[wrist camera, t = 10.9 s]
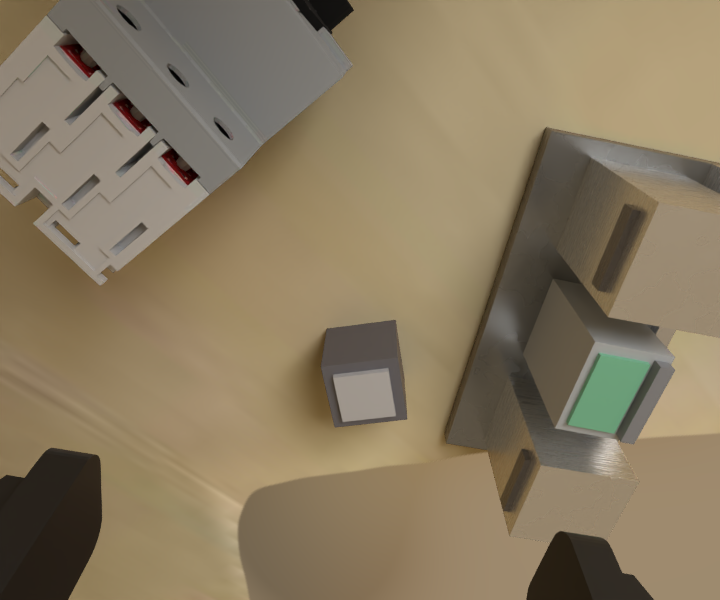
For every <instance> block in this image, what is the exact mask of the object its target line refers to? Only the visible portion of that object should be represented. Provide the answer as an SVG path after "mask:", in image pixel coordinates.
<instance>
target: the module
mask: <svg viewBox="0 0 720 600" xmlns="http://www.w3.org/2000/svg"><path fill="white" fill-rule="evenodd" d="M523 355H524V357H525V360H526V362H527V364H528V367H529V369H530V371H531V374H532V376H533V378H534V381H535V383H536V385H537V388H538V390H539V392H540V395H541V397H542V399H543V402H544V404H545V406H546V409H547V411H548V413H549V416H550V418H551V420H552V423H553V425H554V427H555V428H556V429H561V430H567V431H572V432H578V433H583V434H589V435H594V436H599V437H605V438H610V439H616V440H620V442H623V443H629V444H634V443H635V441H636V440H637V438H638V436H639V434H640V432H641V431H642V429H643V427H644V425H645V423H646V422H647V420H648V418H649V416H650V415H651V413H652V411H653V409H654V407H655V406H656V404H657V402H658V400H659V398H660V397H661V395H662V393H663V391H664V389H665V388H666V386H667V384H668V382H669V380H670V379H671V377H672V375H673V373H674V371H675V369H674V368H673V367H672V366H671V364H672V362H673V360H674V358H675V357H674V356H673V354H672V353H671V352H670V351H669V350H668V349H667V347H666V346H665V345H664V344H663V343H662V342H661V341H660V339H659V338H658V337H657V336H656V335H655V334H654V333H653V331H652V330H651V329H650V328H649V327H648V326H647V324H643V323H637V322H632V321H626V320H621V319H616V318H610V317H607V315H606V314H605V313H604V311H603V310H602V309H601V307H600V306H599V305H598V303H597V302H596V301H595V300H594V298H593V297H592V296H591V294H590V293H589V292H588V290H587V289H586V288H585V286H584V285H583V284H578V283H573V282H568V281H563V280H558V279H553V280H552V283H551V285H550V288H549V290H548V293H547V295H546V298H545V300H544V303H543V305H542V308H541V310H540V313H539V315H538V318H537V320H536V323H535V325H534V328H533V330H532V333H531V335H530V338H529V340H528V343H527V345H526V348H525V350H524V353H523Z"/></svg>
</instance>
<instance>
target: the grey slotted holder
mask: <svg viewBox="0 0 720 600" xmlns="http://www.w3.org/2000/svg"><path fill="white" fill-rule="evenodd" d="M553 279H558V280H563V281H568V282H573V283H578V284H583V285H584V286H585V288H586V289H587V290H588V292H589V293H590V294H591V296H592V297H593V298H594V300H595V301H596V302H597V303H598V305H599V306H600V307H601V309H602V310H603V311H604V313H605V314H606V315H607V317H610V318H616V319H621V320H626V321H632V322H637V323H643V324H647V326H648V327H649V328H650V329H651V330H652V331H653V333H654V334H655V335H656V336H657V337H658V338H659V339H660V341H661V342H662V343H663V344H664V345H665V346H666V347H667V346H668V344H669V342H670V341H671V339H672V337H673V335H674V333H675V331H676V330H680V331H686V332H691V333H696V334H702V335H707V336H713V337H718V338H720V163H717V162H712V161H707V160H702V159H697V158H693V157H688V156H683V155H678V154H673V153H668V152H663V151H659V150H654V149H649V148H644V147H639V146H634V145H629V144H624V143H620V142H615V141H610V140H605V139H600V138H595V137H590V136H586V135H581V134H576V133H571V132H566V131H561V130H556V129H552V128H547V127H546V130H545V133H544V136H543V139H542V142H541V145H540V148H539V151H538V154H537V157H536V160H535V163H534V166H533V169H532V172H531V175H530V178H529V181H528V184H527V187H526V190H525V193H524V196H523V199H522V202H521V205H520V208H519V211H518V214H517V217H516V220H515V223H514V226H513V229H512V232H511V235H510V238H509V241H508V244H507V247H506V250H505V253H504V256H503V259H502V262H501V265H500V268H499V271H498V274H497V277H496V280H495V283H494V286H493V289H492V292H491V295H490V298H489V301H488V304H487V307H486V310H485V313H484V316H483V319H482V322H481V325H480V328H479V331H478V334H477V337H476V340H475V343H474V346H473V349H472V352H471V355H470V358H469V361H468V364H467V367H466V370H465V373H464V376H463V379H462V382H461V385H460V388H459V391H458V394H457V397H456V400H455V403H454V406H453V409H452V412H451V415H450V418H449V421H448V424H447V427H446V430H445V439H446V443H448V444H454V445H460V446H466V447H472V448H478V449H484V450H488V454H489V457H490V462H491V466H492V469H493V474H494V478H495V481H496V485H497V489H498V493H499V497H500V501H501V505H502V509H503V513H504V517H505V521H506V525H507V529H508V533H509V536H512V537H519V538H524V539H531V540H538V541H543V542H550V543H551V541H552V539H553V537H554V535H555V534H556V533H557V532H559V531H564V532H570V533H577V534H583V535H589V536H595V537H601V538H603V539H605V540H607V539H608V537H609V535H610V533H611V532H612V530H613V528H614V526H615V524H616V523H617V521H618V519H619V517H620V516H621V514H622V512H623V510H624V509H625V507H626V505H627V503H628V502H629V500H630V498H631V496H632V495H633V493H634V491H635V489H636V487H637V486H638V484H639V482H640V481H639V480H638V479H637V477H636V474H635V473H634V471H633V469H632V467H631V465H630V464H629V462H628V460H627V458H626V457H625V455H624V453H623V451H622V449H621V448H620V446H619V444H618V441H619V440H616V439H610V438H605V437H599V436H594V435H589V434H583V433H578V432H572V431H567V430H561V429H556V428H555V427H554V425H553V423H552V420H551V418H550V416H549V413H548V411H547V409H546V406H545V404H544V402H543V399H542V397H541V395H540V392H539V390H538V388H537V385H536V383H535V381H534V378H533V376H532V374H531V371H530V369H529V367H528V364H527V362H526V360H525V357H524V355H523V353H524V350H525V348H526V345H527V343H528V340H529V338H530V335H531V333H532V330H533V328H534V325H535V323H536V320H537V318H538V315H539V313H540V310H541V308H542V305H543V303H544V300H545V298H546V295H547V293H548V290H549V288H550V285H551V283H552V280H553Z"/></svg>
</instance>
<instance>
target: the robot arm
mask: <svg viewBox="0 0 720 600" xmlns="http://www.w3.org/2000/svg"><path fill="white" fill-rule="evenodd" d="M101 522H102V500H101V465H100V458H99V456H98V455H94V454H88V453H81V452H75V451H69V450H63V449H56V448H50V449H48V450H47V451H46V452H45V453H44V454H43V455H42V456H41V457H40V458H39V460H38V461H37V462H36V464H35V465H34V466H33V468H32V469H31V470H30V472H29V473H28V474H27V476H26V477H25V478H22V477H15V476H9V475H6V476H5V477H3V478H2V479H0V600H68V599H69V597H70V595H71V593H72V591H73V589H74V587H75V585H76V583H77V582H78V580H79V578H80V576H81V574H82V572H83V570H84V568H85V566H86V564H87V563H88V561H89V559H90V557H91V555H92V553H93V550H94V548H95V545H96V542H97V539H98V536H99V532H100V528H101ZM527 600H653V598H652V597H651V596H650V595H649V593H648V592H647V591H646V590H645V588H644V587H643V586H642V585H641V584H640V582H639V581H638V580H637V579H636V578H635V576H634V575H629V574H624V573H622V571H621V570H620V567H619V565H618V562H617V560H616V558H615V555H614V553H613V551H612V549H611V547H610V545H609V543H608V542H607V541H606V540H605V539H603V538H601V537H595V536H589V535H583V534H577V533H570V532H564V531H559V532H557V533H556V534H555V535H554V537H553V539H552V541H551V543H550V545H549V547H548V549H547V551H546V553H545V555H544V557H543V559H542V561H541V563H540V565H539V567H538V569H537V571H536V573H535V575H534V577H533V579H532V581H531V583H530V585H529V588H528V593H527Z"/></svg>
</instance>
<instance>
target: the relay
mask: <svg viewBox="0 0 720 600" xmlns="http://www.w3.org/2000/svg"><path fill="white" fill-rule="evenodd" d="M321 370H322V374H323V379H324V383H325V387H326V392H327V396H328V400H329V405H330V409H331V413H332V418H333V422H334V426H335V427H343V426H352V425H361V424H370V423H379V422H388V421H397V420H406V419H407V408H406V394H405V381H404V373H403V366H402V359H401V353H400V346H399V340H398V333H397V327H396V320H391V321H384V322H376V323H368V324H360V325H352V326H344V327H337V328H329V329H327V331H326V337H325V344H324V350H323V356H322V363H321Z"/></svg>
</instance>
